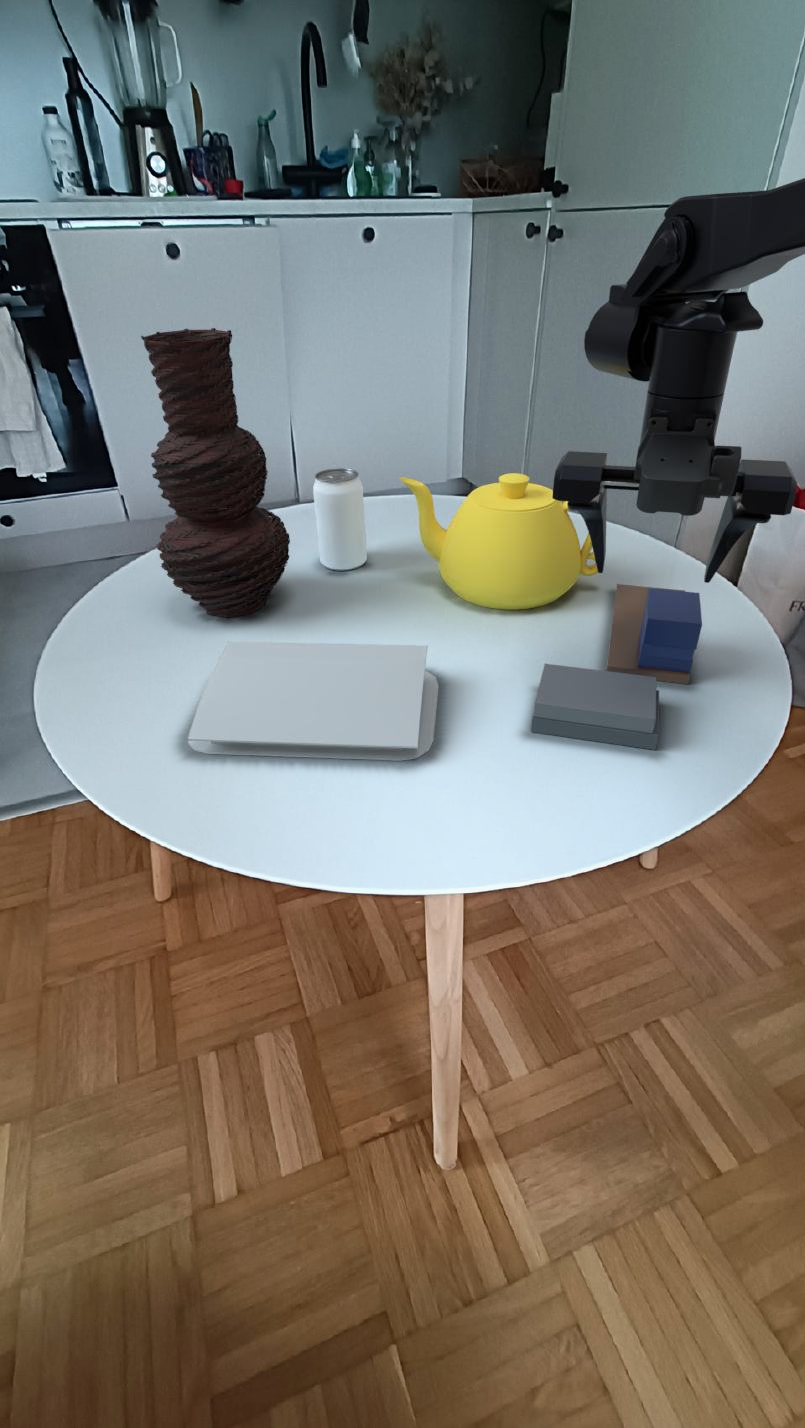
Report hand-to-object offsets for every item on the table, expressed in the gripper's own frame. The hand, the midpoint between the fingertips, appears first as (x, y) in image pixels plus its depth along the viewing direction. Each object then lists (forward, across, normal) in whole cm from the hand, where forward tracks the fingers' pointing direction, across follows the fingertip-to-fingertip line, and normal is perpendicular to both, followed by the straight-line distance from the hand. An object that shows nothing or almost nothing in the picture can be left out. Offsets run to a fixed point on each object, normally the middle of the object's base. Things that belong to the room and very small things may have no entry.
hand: (652, 576), depth 65 cm
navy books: (+12, +3, +5) cm, 13 cm away
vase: (+12, -48, +7) cm, 50 cm away
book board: (+12, +1, +11) cm, 16 cm away
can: (+12, -40, +22) cm, 47 cm away
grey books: (+12, -3, -7) cm, 14 cm away
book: (+12, -29, -12) cm, 34 cm away
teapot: (+12, -18, +20) cm, 29 cm away
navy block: (+8, +3, +5) cm, 10 cm away
